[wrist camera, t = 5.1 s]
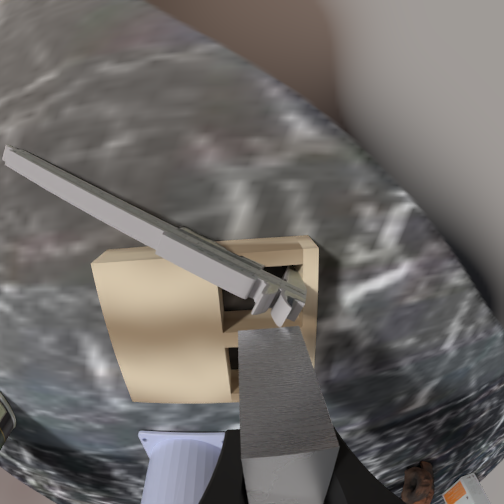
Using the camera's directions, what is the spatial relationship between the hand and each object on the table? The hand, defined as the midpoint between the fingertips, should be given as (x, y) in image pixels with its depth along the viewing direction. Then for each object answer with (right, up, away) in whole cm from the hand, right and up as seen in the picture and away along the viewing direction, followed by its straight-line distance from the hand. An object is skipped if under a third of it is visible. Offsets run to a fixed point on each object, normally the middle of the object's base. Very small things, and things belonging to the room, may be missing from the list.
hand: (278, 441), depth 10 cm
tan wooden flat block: (-4, +3, +9) cm, 10 cm away
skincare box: (+36, -34, +23) cm, 55 cm away
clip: (0, +1, +3) cm, 3 cm away
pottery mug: (+18, -22, +19) cm, 34 cm away
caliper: (-8, +10, +7) cm, 14 cm away
